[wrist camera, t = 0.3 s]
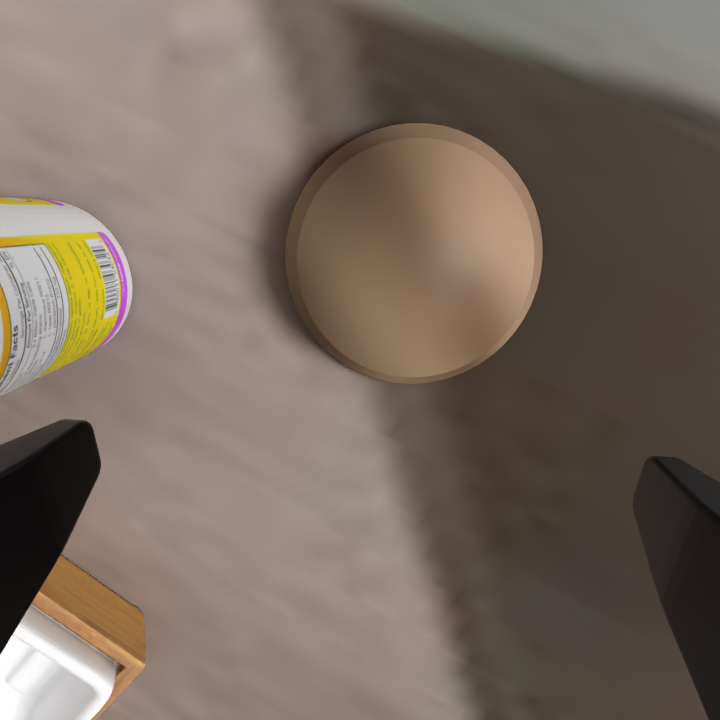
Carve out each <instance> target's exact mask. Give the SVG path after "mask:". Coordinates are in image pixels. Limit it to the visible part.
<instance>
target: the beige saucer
mask: <svg viewBox="0 0 720 720" xmlns="http://www.w3.org/2000/svg"><path fill="white" fill-rule="evenodd" d="M542 256H543V254H542V235H541V229H540V222H539V218H538V215H537V212H536V209H535V205H534V203H533V201H532V198H531V196H530V194H529V192H528V190H527V188H526V186H525V185H524V183H523V182H522V180H521V178H520V177H519V175H518V174H517V172H516V171H515V170H514V169H513V168H512V167H511V166H510V164H509V163H508V162H507V161H506V160H505V159H504V158H503V157H502V156H501V155H499V154H498V153H497V152H496V151H495V150H494V149H493V148H491V147H490V146H488V145H487V144H485V143H483V142H482V141H480V140H479V139H477V138H475V137H473V136H471V135H469V134H466V133H464V132H462V131H459V130H456V129H453V128H449V127H446V126H441V125H434V124H428V123H407V124H399V125H391V126H388V127H384V128H380V129H377V130H374V131H371V132H369V133H367V134H364V135H362V136H360V137H357V138H356V139H354V140H352V141H351V142H349V143H347V144H346V145H344V146H342V147H341V148H340V149H339V150H337V151H336V152H335V153H334V154H332V155H331V156H330V157H329V158H328V159H327V160H326V161H325V162H324V163H323V164H322V165H321V166H320V167H319V168H318V169H317V170H316V171H315V173H314V174H313V176H312V177H311V178H310V180H309V181H308V182H307V184H306V185H305V187H304V189H303V191H302V193H301V194H300V196H299V198H298V200H297V202H296V205H295V208H294V210H293V213H292V215H291V219H290V223H289V227H288V231H287V238H286V247H285V268H286V274H287V281H288V286H289V289H290V293H291V297H292V300H293V302H294V305H295V307H296V309H297V312H298V314H299V316H300V318H301V319H302V321H303V323H304V324H305V326H306V328H307V329H308V331H309V332H310V333H311V334H312V336H313V337H314V338H315V340H316V341H317V342H318V343H319V344H320V345H321V346H322V347H323V348H324V349H325V350H326V351H327V352H328V353H329V354H331V355H332V356H333V357H334V358H336V359H337V360H338V361H340V362H341V363H343V364H344V365H346V366H348V367H350V368H351V369H353V370H355V371H357V372H359V373H362V374H364V375H366V376H369V377H372V378H376V379H379V380H383V381H388V382H395V383H410V384H417V383H427V382H434V381H438V380H443V379H447V378H450V377H453V376H455V375H458V374H461V373H463V372H465V371H467V370H469V369H471V368H473V367H475V366H477V365H478V364H480V363H481V362H483V361H484V360H486V359H487V358H489V357H490V356H491V355H493V354H494V353H495V352H496V351H497V350H498V349H499V348H501V347H502V346H503V345H504V344H505V343H506V341H507V340H508V339H509V338H510V337H511V336H512V335H513V334H514V332H515V331H516V329H517V328H518V326H519V325H520V324H521V322H522V321H523V319H524V317H525V315H526V313H527V311H528V310H529V308H530V306H531V303H532V301H533V298H534V295H535V293H536V290H537V286H538V282H539V278H540V274H541V265H542Z"/></svg>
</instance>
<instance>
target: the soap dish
mask: <svg viewBox="0 0 720 720" xmlns="http://www.w3.org/2000/svg"><path fill="white" fill-rule="evenodd" d="M145 665H146V643H145V624H144V615H143V614H142V613H141V610H140V609H139V608H138V607H137V606H135V605H132V604H131V605H130V604H129V603H128V602H126V601H125V600H123V599H122V598H121V597H119V596H118V595H117V594H115V593H114V592H112V591H111V590H109V589H108V588H107V587H105V586H104V585H102V584H101V583H100V582H98V581H97V580H95V579H94V578H92V577H91V576H90V575H88V574H87V573H85V572H84V571H82V570H81V569H80V568H78V567H77V566H75V565H74V564H72V563H71V562H70V561H68V560H67V559H65V558H64V557H63V556H61V555H60V557H59V559H58V560H57V562H56V564H55V565H54V567H53V569H52V571H51V572H50V574H49V576H48V577H47V579H46V581H45V582H44V584H43V585H42V587H41V589H40V590H39V592H38V594H37V595H36V597H35V599H34V600H33V602H32V604H31V605H30V607H29V609H28V610H27V612H26V613H25V615H24V617H23V618H22V620H21V622H20V623H19V625H18V627H17V628H16V630H15V632H14V633H13V635H12V637H11V638H10V640H9V641H8V643H7V645H6V646H5V648H4V650H3V651H2V653H1V655H0V720H96V719H97V718H98V717H99V716H100V715H101V713H102V712H103V711H104V710H105V709H106V708H107V707H108V706H109V705H110V704H111V703H112V702H113V701H114V699H116V698H117V697H118V695H119V694H120V693H121V692H122V691H123V690H124V689H125V688H126V687H127V686H128V685H129V684H130V683H131V682H132V681H133V679H134V678H135V677H136V676H137V675H138V674H139V673H140V672H141V671H142V670H143V668H144V667H145Z"/></svg>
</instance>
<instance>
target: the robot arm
mask: <svg viewBox="0 0 720 720" xmlns="http://www.w3.org/2000/svg"><path fill="white" fill-rule="evenodd" d="M100 468H101V460H100V455H99V451H98V447H97V443H96V439H95V435H94V431H93V428H92V425H91V424H90V423H89V422H87V421H85V420H71V419H63V420H60V421H57V422H55V423H52V424H50V425H47V426H45V427H43V428H40V429H38V430H35V431H33V432H30V433H28V434H26V435H23V436H21V437H18V438H16V439H14V440H11V441H9V442H6V443H4V444H1V445H0V655H1V653H2V651H3V650H4V648H5V646H6V645H7V643H8V641H9V640H10V638H11V637H12V635H13V633H14V632H15V630H16V628H17V627H18V625H19V623H20V622H21V620H22V618H23V617H24V615H25V613H26V612H27V610H28V609H29V607H30V605H31V604H32V602H33V600H34V599H35V597H36V595H37V594H38V592H39V590H40V589H41V587H42V585H43V584H44V582H45V581H46V579H47V577H48V576H49V574H50V572H51V571H52V569H53V567H54V565H55V564H56V562H57V560H58V559H59V557H60V555H61V553H62V551H63V549H64V547H65V545H66V543H67V541H68V539H69V537H70V535H71V533H72V531H73V529H74V527H75V525H76V522H77V520H78V518H79V516H80V514H81V512H82V510H83V508H84V506H85V503H86V501H87V499H88V497H89V495H90V493H91V491H92V489H93V487H94V484H95V482H96V480H97V478H98V476H99V473H100ZM633 511H634V515H635V518H636V522H637V525H638V529H639V532H640V535H641V539H642V542H643V546H644V549H645V553H646V556H647V559H648V563H649V566H650V570H651V573H652V577H653V580H654V584H655V587H656V590H657V593H658V596H659V599H660V602H661V605H662V607H663V610H664V613H665V615H666V618H667V620H668V623H669V625H670V627H671V630H672V632H673V635H674V637H675V640H676V642H677V644H678V647H679V649H680V652H681V654H682V656H683V659H684V661H685V664H686V666H687V668H688V671H689V673H690V676H691V678H692V680H693V683H694V685H695V688H696V690H697V693H698V695H699V697H700V700H701V702H702V705H703V707H704V709H705V712H706V714H707V717H708V719H709V720H720V483H719V482H718V481H716V480H714V479H713V478H711V477H709V476H708V475H706V474H704V473H703V472H701V471H699V470H697V469H696V468H694V467H692V466H691V465H689V464H687V463H686V462H684V461H682V460H681V459H678V458H675V457H660V456H651V457H649V458H648V459H647V460H646V461H645V463H644V466H643V469H642V472H641V475H640V478H639V481H638V484H637V488H636V491H635V494H634V498H633Z"/></svg>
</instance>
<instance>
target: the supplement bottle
mask: <svg viewBox="0 0 720 720" xmlns="http://www.w3.org/2000/svg"><path fill="white" fill-rule="evenodd" d="M131 300H132V278H131V272H130V268H129V265H128V262H127V259H126V257H125V254H124V252H123V250H122V248H121V247H120V245H119V243H118V242H117V240H116V239H115V238H114V236H113V235H112V234H111V233H110V231H109V230H108V229H107V228H106V227H105V226H104V225H103V224H102V223H101V222H100V221H98V220H97V219H96V218H94V217H93V216H91V215H90V214H88V213H87V212H85V211H83V210H81V209H79V208H77V207H75V206H73V205H70V204H67V203H64V202H60V201H55V200H47V199H36V198H10V197H0V397H1V396H3V395H5V394H7V393H9V392H11V391H13V390H15V389H18V388H20V387H22V386H24V385H26V384H28V383H29V382H31V381H34V380H36V379H38V378H40V377H42V376H44V375H46V374H48V373H50V372H52V371H54V370H56V369H58V368H61V367H63V366H65V365H67V364H69V363H71V362H73V361H75V360H77V359H79V358H81V357H83V356H85V355H87V354H89V353H91V352H93V351H95V350H97V349H98V348H100V347H102V346H103V345H105V344H106V343H107V342H108V341H110V340H111V339H112V338H113V337H114V336H115V335H116V334H117V332H118V331H119V330H120V328H121V327H122V325H123V323H124V321H125V319H126V317H127V315H128V312H129V309H130V305H131Z"/></svg>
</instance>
